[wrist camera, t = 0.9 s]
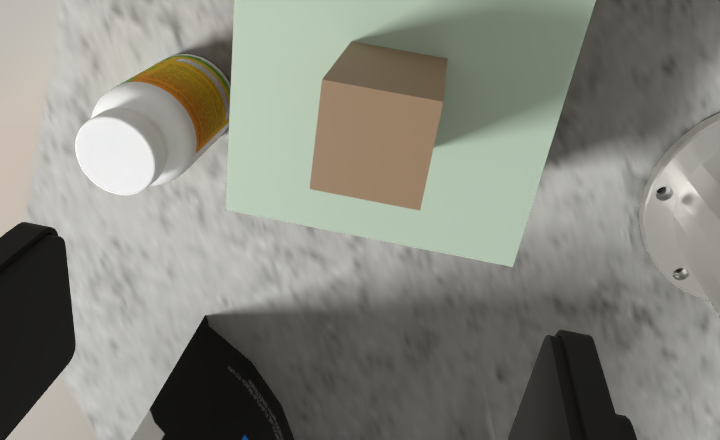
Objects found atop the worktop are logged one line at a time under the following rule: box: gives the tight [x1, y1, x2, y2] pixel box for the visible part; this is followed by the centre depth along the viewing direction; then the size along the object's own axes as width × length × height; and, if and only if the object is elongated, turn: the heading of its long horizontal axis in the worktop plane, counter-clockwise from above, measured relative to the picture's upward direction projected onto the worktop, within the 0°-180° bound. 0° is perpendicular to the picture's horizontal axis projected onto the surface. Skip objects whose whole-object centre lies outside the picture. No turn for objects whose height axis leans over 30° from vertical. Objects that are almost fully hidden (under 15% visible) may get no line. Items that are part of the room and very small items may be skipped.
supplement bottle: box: [75, 54, 231, 195], centre depth 33 cm, size 5×5×10 cm
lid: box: [225, 0, 596, 267], centre depth 24 cm, size 14×14×7 cm
